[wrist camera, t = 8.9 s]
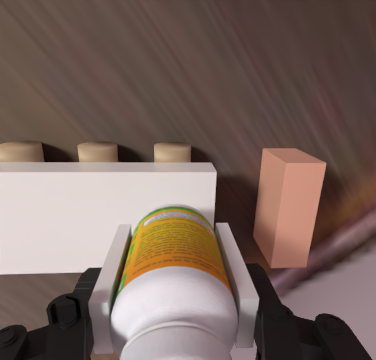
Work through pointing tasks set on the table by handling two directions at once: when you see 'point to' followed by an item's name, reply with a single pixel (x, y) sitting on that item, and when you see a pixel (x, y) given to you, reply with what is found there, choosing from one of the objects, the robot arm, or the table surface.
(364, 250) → the table surface
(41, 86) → the table surface
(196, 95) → the table surface
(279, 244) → the block
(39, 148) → the roller bed
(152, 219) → the supplement bottle
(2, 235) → the slab
